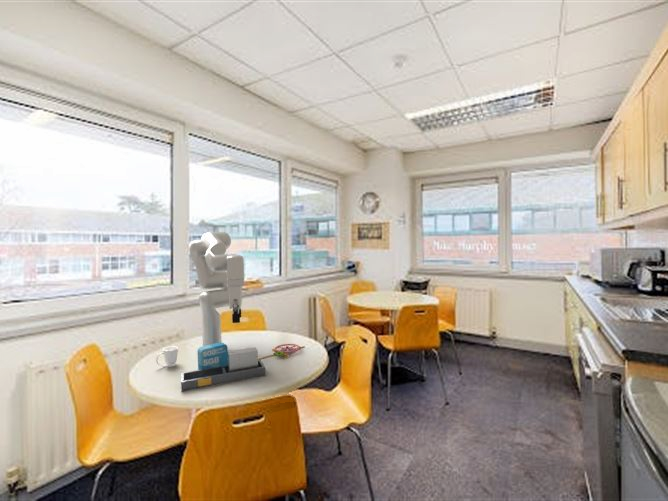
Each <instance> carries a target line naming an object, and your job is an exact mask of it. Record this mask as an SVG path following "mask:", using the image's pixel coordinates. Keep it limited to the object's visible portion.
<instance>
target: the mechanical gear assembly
mask: <svg viewBox="0 0 668 501" xmlns="http://www.w3.org/2000/svg"><path fill="white" fill-rule="evenodd" d="M295 347H296V348H295ZM302 348H305V345H303V346H300V345H299V344H296V343H284V344H283V343H282V344H279V345H277V346H275V347H274V348H272V349H271V351H272V352H273V354H270V355H266V356H263V357H258V360H263V359H267V358H271V357H274V356H275V357H284V358H286V359H288V358H289V357H290V355H289V354H292V353H295V352H298V351H299V350H300V349H302Z"/></svg>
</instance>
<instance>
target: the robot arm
mask: <svg viewBox="0 0 668 501" xmlns="http://www.w3.org/2000/svg"><path fill="white" fill-rule="evenodd" d="M231 243H232V239H231V236H230V235H229V233H227V232H225V231H224V232H223V231H221V232H220V231H216V232H215V231H212V232H211V231H209V232H206V233H203V235H202V236H201V239H195V240H193V241H191V242H190V244H189V248H188V251H189V255H190V258H191V260H192V261H193V264H194V265H195V270H196V274H197V279H198V285H199V287H200V289H201V290H207V291H204V292H202V293H200V294H199V298H198V301H199V306H200V307H199V308H200V310H201V313H200V314H201V328H202V329H201V330H202V346H207V345H211V344H215V343H220V342H222V320H221V319H222V318H221V314H220V313H219V312H218V310H217V309H219V308H224V307H229V310H232V314H231V317H232V319H231V320H232V321H231V322H232V324H239V323H241V317H242V308H241V307H242V303H243V302H242V301H243V287H245V260H244V257H243V255H239V254H236V253H233V254H232V253H231V254H226V253H227V250H228V249H229V248H230V246H231ZM222 343H223V342H222Z"/></svg>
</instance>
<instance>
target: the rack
mask: <svg viewBox="0 0 668 501" xmlns="http://www.w3.org/2000/svg"><path fill="white" fill-rule="evenodd" d="M258 359H259V350H258V348H257V347H256V346H253V347H249V348H248V347H246V348H240V349H234V350H228V365H226V366H220V367H214V368H208V369H202V370H198V369H197V370H191V371H185V372H181V373H180V382H181V383H180V384H181V385H180V386H181V388H180V389H181V392H188V391H192V390H193V391H194V390H198V389H203V388H209V387H214V386H219V385H225V384H231V383H236V382H240V381H246V380H253V379H257V378H262V377H266V375H267V373H266V366H265V364H264V363H263V362H262V359H260V360H258Z"/></svg>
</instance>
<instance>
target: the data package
mask: <svg viewBox="0 0 668 501" xmlns="http://www.w3.org/2000/svg"><path fill="white" fill-rule="evenodd" d="M228 348H229V347H228V345H227V344H225V343H224V342H220V343H215V344H211V345H207V346H203V345H202V346H200V347H198V348H197V370H202V369H208V368H214V367H220V366H226V365H228V351H229V349H228Z"/></svg>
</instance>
